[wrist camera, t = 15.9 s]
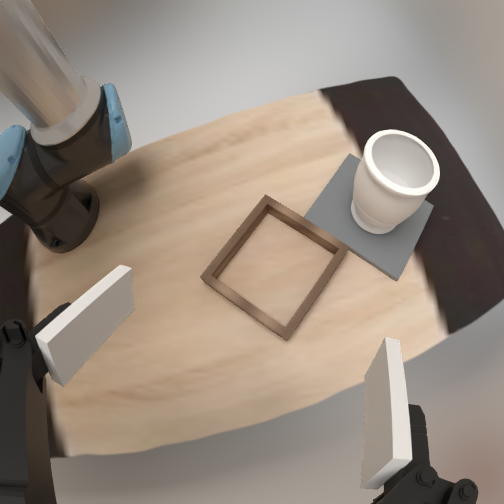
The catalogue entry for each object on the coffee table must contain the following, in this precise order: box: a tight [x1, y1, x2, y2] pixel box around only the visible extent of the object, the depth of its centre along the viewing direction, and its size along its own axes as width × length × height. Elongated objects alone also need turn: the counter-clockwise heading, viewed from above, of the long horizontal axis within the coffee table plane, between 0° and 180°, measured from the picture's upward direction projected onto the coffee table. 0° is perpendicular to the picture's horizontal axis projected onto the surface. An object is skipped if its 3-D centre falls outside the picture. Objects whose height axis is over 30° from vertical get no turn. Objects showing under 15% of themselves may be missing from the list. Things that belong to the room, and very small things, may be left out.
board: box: [304, 153, 433, 281], centre depth 50 cm, size 18×16×1 cm
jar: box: [351, 130, 440, 234], centre depth 43 cm, size 11×10×15 cm
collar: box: [200, 194, 349, 341], centre depth 48 cm, size 15×16×3 cm
